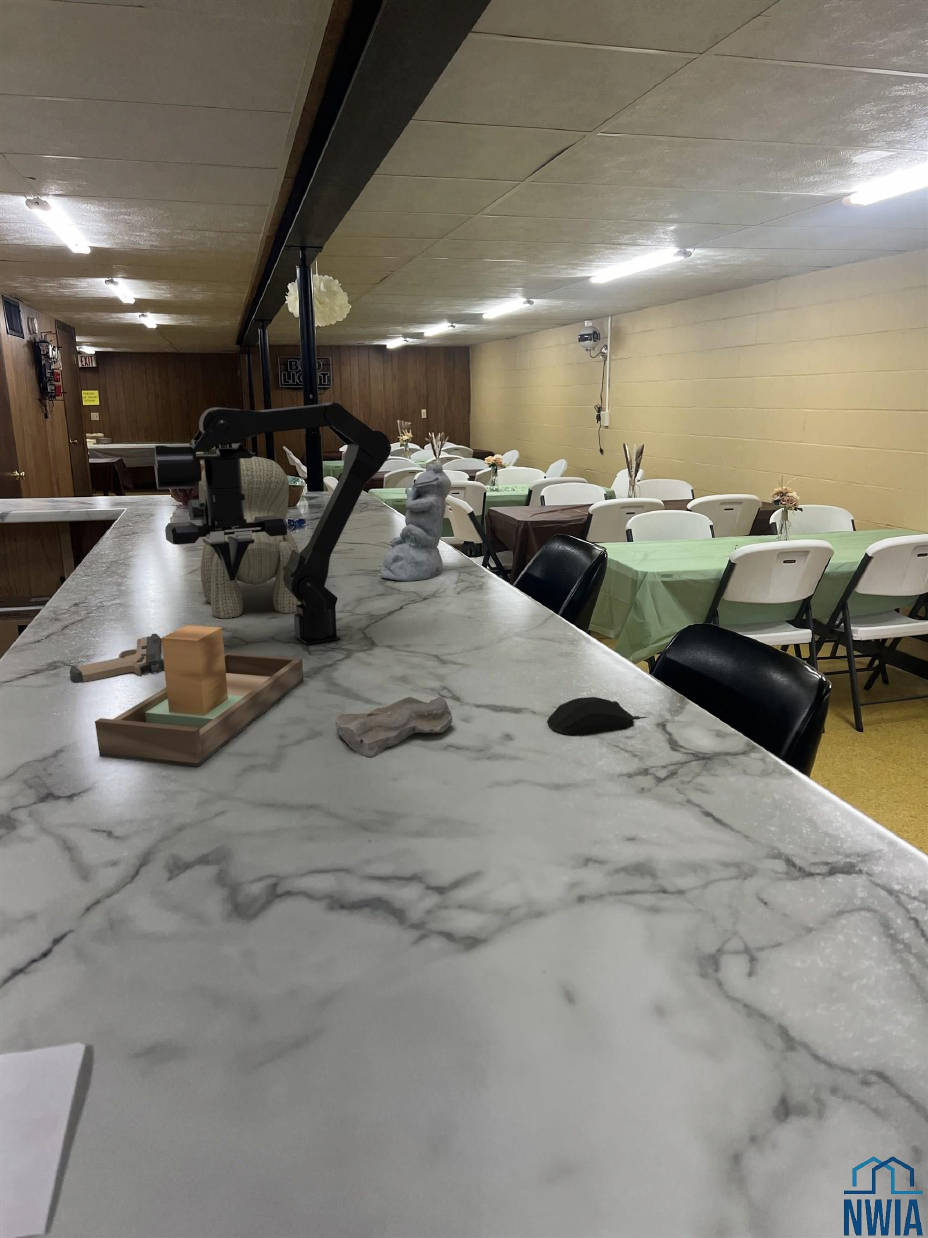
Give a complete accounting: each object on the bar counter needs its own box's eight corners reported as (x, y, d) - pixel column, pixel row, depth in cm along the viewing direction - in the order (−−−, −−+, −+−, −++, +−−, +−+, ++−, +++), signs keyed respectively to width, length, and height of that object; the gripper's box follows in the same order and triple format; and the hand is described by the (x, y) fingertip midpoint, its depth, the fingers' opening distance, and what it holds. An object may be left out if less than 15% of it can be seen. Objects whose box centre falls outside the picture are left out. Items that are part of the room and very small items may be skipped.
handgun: (69, 688, 116) (167, 675, 121) (66, 672, 116) (165, 659, 120) (80, 653, 133) (166, 642, 138) (78, 639, 133) (164, 629, 138)
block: (194, 695, 105) (187, 625, 102) (228, 698, 104) (222, 627, 101) (169, 712, 99) (161, 637, 96) (204, 715, 98) (197, 640, 95)
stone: (360, 764, 92) (359, 732, 90) (326, 736, 99) (325, 706, 98) (463, 735, 100) (463, 705, 98) (424, 711, 107) (423, 684, 106)
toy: (293, 582, 183) (285, 452, 175) (314, 614, 155) (307, 462, 147) (200, 588, 176) (188, 454, 168) (206, 623, 148) (192, 464, 140)
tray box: (225, 673, 121) (223, 646, 119) (303, 680, 118) (301, 652, 117) (99, 756, 92) (94, 721, 91) (197, 767, 90) (194, 731, 89)
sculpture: (379, 562, 200) (393, 448, 188) (438, 570, 203) (456, 458, 190) (378, 590, 184) (393, 467, 172) (442, 598, 186) (462, 477, 174)
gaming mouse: (662, 728, 102) (664, 700, 101) (558, 741, 98) (560, 711, 97) (638, 711, 108) (640, 684, 107) (540, 722, 104) (541, 694, 103)
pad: (181, 704, 107) (179, 690, 107) (254, 711, 105) (253, 697, 104) (146, 726, 100) (145, 712, 99) (224, 734, 97) (223, 720, 97)
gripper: (263, 480, 137) (269, 566, 142) (153, 485, 128) (162, 577, 132) (285, 485, 128) (291, 577, 133) (169, 491, 119) (178, 590, 123)
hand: (231, 580), depth 130 cm, fingers closed
